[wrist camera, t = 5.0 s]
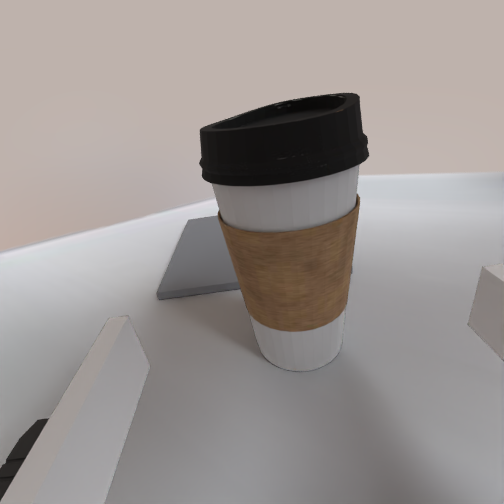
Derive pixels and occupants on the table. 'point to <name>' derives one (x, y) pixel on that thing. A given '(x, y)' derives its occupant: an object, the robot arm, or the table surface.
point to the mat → (199, 262)
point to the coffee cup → (290, 218)
